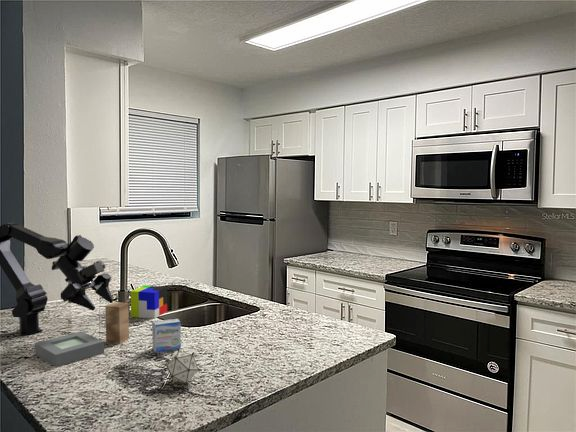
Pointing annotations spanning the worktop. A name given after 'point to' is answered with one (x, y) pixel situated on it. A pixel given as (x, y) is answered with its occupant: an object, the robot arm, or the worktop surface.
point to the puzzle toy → (148, 301)
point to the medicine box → (166, 335)
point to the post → (117, 322)
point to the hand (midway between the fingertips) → (103, 305)
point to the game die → (182, 367)
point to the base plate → (69, 348)
